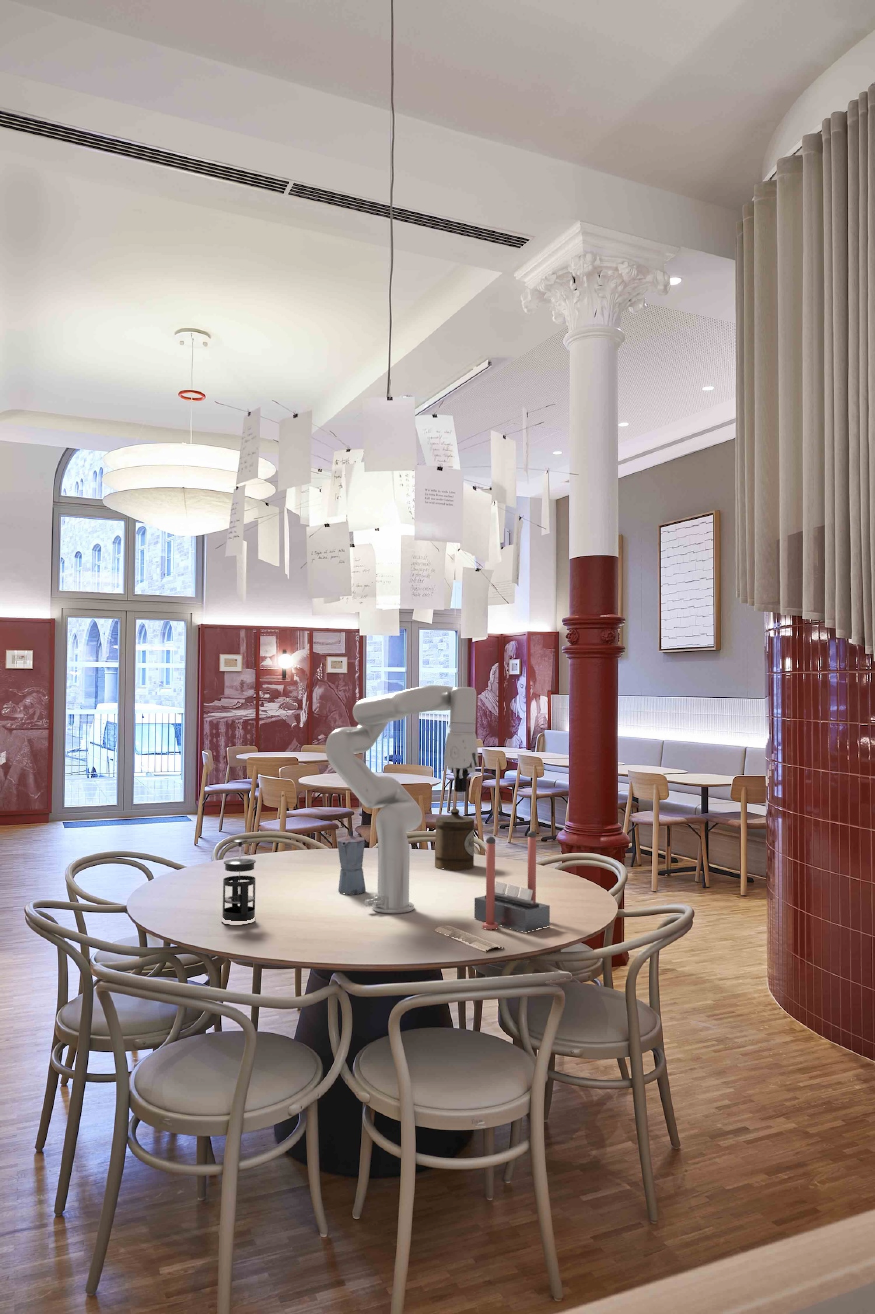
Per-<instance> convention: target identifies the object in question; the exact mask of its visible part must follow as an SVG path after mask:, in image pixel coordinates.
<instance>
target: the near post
mask: <svg viewBox="0 0 875 1314" xmlns="http://www.w3.org/2000/svg"><path fill="white" fill-rule="evenodd" d="M485 842H486V843H485V844H486V859H485V860H486V864H485V865H486V866H485V867H486V869H485V870H486V873H485V879H486V881H485V882H486V883H485V884H486V885H485V887H486V888H485V889H486V890H485V895H486V922H484V921H482V926H481V927H483V928H486V929H490V930H489V931H493V930H492V929H496V928H498V929H499V926H498V923H496V922H495V885H496V838H495V837H494V836H491V835H490V836H488V837H486V840H485ZM483 928H482V929H483Z"/></svg>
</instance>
